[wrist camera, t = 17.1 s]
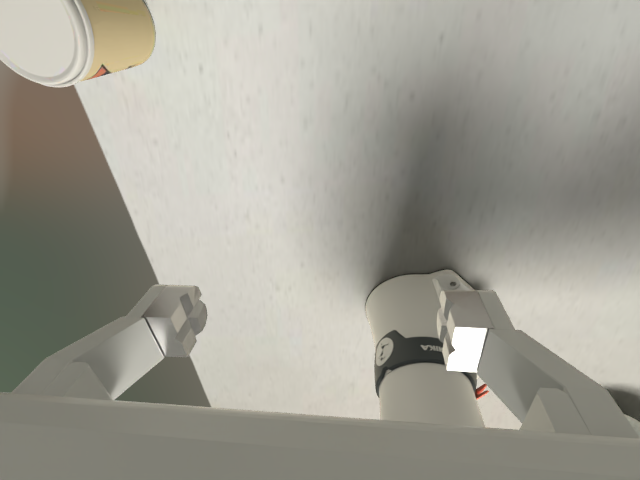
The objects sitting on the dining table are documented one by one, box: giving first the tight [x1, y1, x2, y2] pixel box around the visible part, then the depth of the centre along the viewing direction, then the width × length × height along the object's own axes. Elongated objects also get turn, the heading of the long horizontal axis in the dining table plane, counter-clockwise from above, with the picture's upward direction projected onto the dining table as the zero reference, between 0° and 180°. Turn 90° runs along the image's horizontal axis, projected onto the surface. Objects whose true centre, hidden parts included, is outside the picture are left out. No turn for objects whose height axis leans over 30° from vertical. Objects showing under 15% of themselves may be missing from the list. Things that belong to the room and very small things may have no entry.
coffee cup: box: [0, 0, 156, 87], centre depth 30 cm, size 9×9×12 cm
